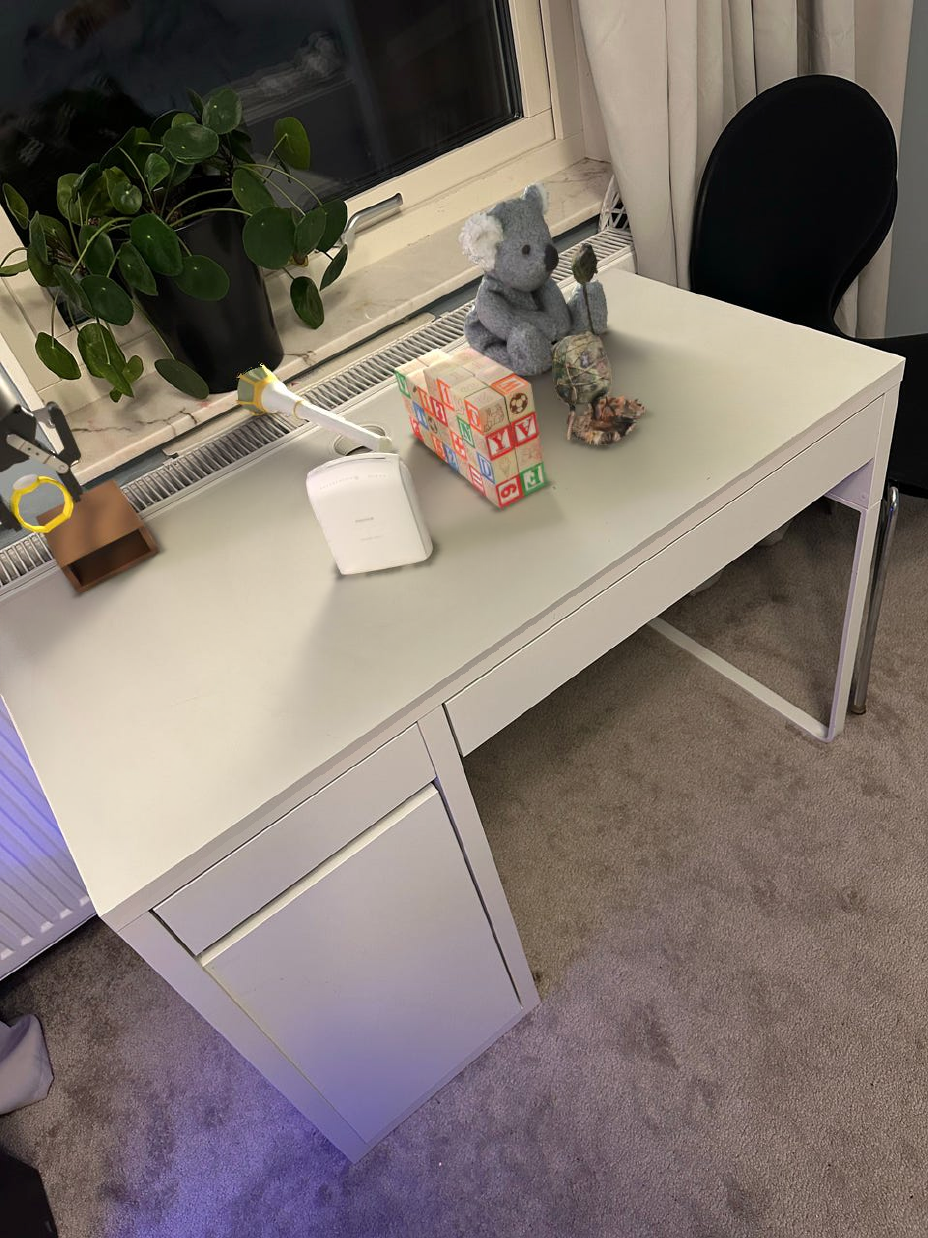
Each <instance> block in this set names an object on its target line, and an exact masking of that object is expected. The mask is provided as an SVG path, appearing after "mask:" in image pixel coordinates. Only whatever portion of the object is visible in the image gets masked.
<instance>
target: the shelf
mask: <svg viewBox="0 0 928 1238" xmlns="http://www.w3.org/2000/svg"><path fill="white" fill-rule="evenodd" d="M79 496H80V498H81V501H79V502H77V503H75V501H74V500H73V498H72V502H73V509H72V512H71V516H70V517H69V519H67V520H65V521H64V522H62V523H61V524H59V525H58V526H56V527H55V528H54V529H52V530H51V531H50V532H48V533H42V535H43V537H44V539H45V541H46V543H47V545H48V547H49V549H50V551H51V554H52V555H53V558H54V559H55V562H56V564H57V566H58V567H59V569H60V570H61V572H62V573H63V574H64V576H65V578H66V579H67V580H68V582H69V583H70V585H71V586H72V587H73V589H74V590H75V592H76V593H77V594H78V595H81V594H82V593H84V592H86V591H88V590H90V589H92V588H94V587H96V586H98V585H100V584H101V583H103V582H105V581H107V580H109V579H110V578H113V577H115V576H117V575H119V574H121V573H122V572H124V571H126V570H128V569H130V568H132V567H135V566H136V565H138V564H140V563H142V562H144V561H145V560H147V559H149V558H152V557H153V556H155V555H157V554H159V553H160V550H159V548H158V546H157V545H156V543H155V541H154V540H153V538H152V536H151V534H150V532H149V531H148V529H147V527H146V526H145V524H144V522H143V521H142V519H141V518H140V516H139V515H138V513H137V512H136V510H135V509H134V507H133V506H132V505H131V503H130V501H129V500H128V498H127V497H126V496H125V494H124V492H123V491H122V490H121V488H120V486H119V485H118V484H117V482H116V480H115V479H113V478H112V479H109V480H108V481H106V482H104V483H102V484H100V485H98V486H96V487H94V488H92V489H89V490H87V491H86V492H83V494H81V495H79ZM64 506H65V502H62V503H61V504H59V505H57V506H55V507H53V508H50V509H49V510H47V511H45V512H43V513H40V514H39V515H36V516H35V520H36V521H37V524H38V526H45V525H46V524H48V523H49V522H50V521H52V520H53V519H55V518H56V517H57V516H59V515H60V514H62V513H63V510H64Z"/></svg>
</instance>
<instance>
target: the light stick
mask: <svg viewBox="0 0 928 1238" xmlns="http://www.w3.org/2000/svg"><path fill="white" fill-rule="evenodd" d="M261 364H262V363H261ZM261 364H260V366H262V367H258V368H255V369H252V370H250V371H248V372H246V371H245V372H246V373H245V372H244V373H245V374H244V373H240V375H239V376H238V375H237V376H238V377H237V376H236V378H240V379H239V381H238V384H237V389H236V391H237V392H236V393H237V394H238V400H237V399H236V398H235V397H234V399H236V400H235V402H236V404H237V405H241V406H242V407H243V408H244V410H247V411H249V413H250V414H251V415H253V416H261V415H265V414H268V413H270V414H277V413H282V414H285V415H288V416H290V417H294V418H296V419H298V420H300V421H301V420H306V421H308V422H311V423H313V424H315V425H317V426H319V427H322V428H323V429H326V430H328V431H330V432H333V433H335V434H337V435H339V436H342V437H343V438H346V439H348V440H350V441H352V442H355V443H357V444H359V445H361V446H363V447H365V448H367V449H369V450H372V451H374V452H375V453H391V452H392V448H393V442H392V440H391V438H390V436H389V435H388V436H387V435H383V436H381V435H379V434H376V433H374V432H373V431H370V430H367V429H365V428H364V427H361V426H359V425H356V424H354V423H352V422H350V421H347V420H346V418H345V417H344V416H341V415H339V414H337V413H334V412H332V411H330V410H327V409H324V408H322V407H321V406H318V405H315V404H313V403H310V402H309V401H308V400H306V399H303V398H301V397H300V396H298V395H296V394H295V393H293V392H291V391H289V390H288V387H287V386H286V385H285V384H284V383H283V382H282V381H281V379H280V376H278V379H279V380H278V379H277V378H276V376H277V375H276V374H274V373H273V372H272V371H271V370H270V369H268V368H267V367H266V366H265V364H263V365H261ZM242 374H243V375H242ZM275 375H276V376H275Z"/></svg>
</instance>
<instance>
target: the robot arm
mask: <svg viewBox="0 0 928 1238" xmlns="http://www.w3.org/2000/svg"><path fill="white" fill-rule="evenodd" d="M38 423H42V424H44V425H45V426H46V428H48V429H49V430H50V429H51V430H53V429H55V431H56V433H57V436H58V438H59V440H60V443H61V444H62V447H63V448H62V450H61V451H59V453H57V452H56V451H54V450H53V449H51V448H49V447H48V446H47V445H46V444H45V443H43V442H42V441H40V440H38V439H37V438H36V435H37V427H38V426H37V425H38ZM30 458H32V459H34V460H36V461H37V462H38V463H40V464H43V465H46V466H47V467H49V468H51V469H52V470H54V471H55V472H56V475H57V476H58V478H59V480H60V481H61V482H62V485H63V486H64V487H65V488H66V489H67V490H68V492H69V493H70V495H71V498H72V499H73V500H74V501H75V503H77V502H79V501H81V498H80V496H79V495H81V494H83V493H84V489H83V488H82V486H81V484H80V483H79V481H78V479H77V477H76V476H75V474H74V473H73V471H72V469H71V468H72V465H73V464H74V462H76V461H77V462H78V461H79V460H80V459H82V453H81V450H80V448H79V446H78V444H77V441H76V440H75V436H74V435H73V432H72V430H71V428H70V426H69V423H68V421H67V419H66V417H65V414H64V412H63V410H62V408H61V407H60V405H59V404H58V403H57V402H56V401H54V400H51V401H48V402H47V403H46V404H45V406H44V407H41V408H38V409H35V410H32V411H31V409H29V408H28V407H25V405H23V404H22V403H21V401H20V400H19V398H18V396H17V395H16V393H15V392H14V390H13V389H12V387H11V385H10V384H9V382H8V380H7V379H6V377H5V376H4V375H3V373H2V371H1V370H0V473H3V472H5V471H7V470H9V469H10V468H12V467H13V466H15V465H18V464H22V463H25V462H26V461H29V460H30ZM0 524H2V526H3V528H5V529H7V531H10V530H12V529H13V530H14V532H15V533H18V532H20V531H22V530H23V526H22V525H21V524H20V523H19V522H18V521H17V520H16V518H15V517H14V515H13V514H12V512H11V507H10V506H9V505H8V503H7V501H5V499H4V498H3V497H2V495H1V494H0Z"/></svg>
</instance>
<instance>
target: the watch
mask: <svg viewBox="0 0 928 1238" xmlns="http://www.w3.org/2000/svg"><path fill="white" fill-rule="evenodd" d="M40 484H51V485H54V486H56V487H57V488H58V489H59V490H60V491H61V492H62V494H63V499H64V503H65V506H64V510H63V513H62V514H60V515H59V516H57V517H56V518H55V519H53V520H52V521H50V522H49V523H48V524H46V525H45V526H39V525H31V524H29V523H27V522H26V521H24V519H23V517H22V516H21V515H20V506H19V505H20V501H21V499H22V497H23V495H26V494H28V493H30V492H33V491H34V490H36V489H37V488H38V487H39V486H40ZM12 489H13V493H12V495H11V497H10V509H11V512H12V514H13V515H14V517H15V518H16V520H17V521H18V522H19V523H20V524H21V526H22V528H25V529H26V530H27V529H28V531H30V532H32V533H36V534H43V533H48V532H50V531H51V530H52V529H54V528H55V527H56V526H58V525H59V524H61V523H62V522H64V521H65V520H67V519H69V517H70V516H71V512H72V509H73V502H72V499H73V498H72V496H71V495H70V493H69V492H68V490H67V489H66V487H65V486H64V484H63V483H61V482H59V481H58V480H57V479H53V478H51V477H49V476H38V475H37V474H36V473H30V474H27V475H23V476H22V477H20V478H18V479H17V480H16V481H15V482H14V483H13V485H12Z"/></svg>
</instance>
